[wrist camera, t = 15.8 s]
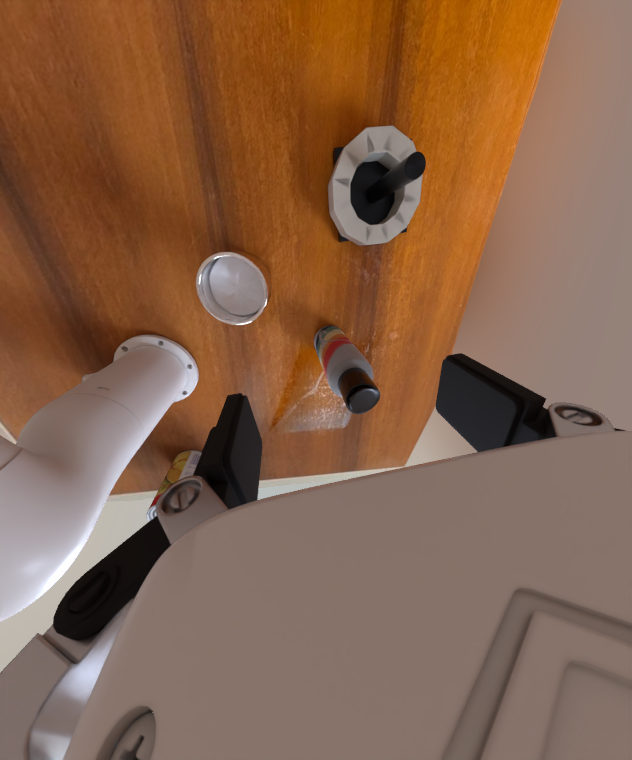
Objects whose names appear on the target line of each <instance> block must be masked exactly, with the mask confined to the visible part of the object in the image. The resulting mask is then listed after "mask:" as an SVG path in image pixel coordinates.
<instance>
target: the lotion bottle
mask: <svg viewBox="0 0 632 760" xmlns="http://www.w3.org/2000/svg"><path fill="white" fill-rule="evenodd" d="M314 345H315V349H316V352H317V354H318V357H319V360H320V362H321V365H322V368H323V370H324V373H325V375H326V378H327V381H328V383H329V386H330V388H331V390H332V391H333V392H334V393H335V394H336V395H338V396H340V397H343V400H344V402H345V404H346V406H347V408H348V409H349V410H350V411H351V412H352V413H355V414H361V413H365V412H367V411H369V410H370V409H372V408H373V407H374V406H375V405H376V404H377V402H378V401H379V399H380V392H379V390H378V388H377V387H376V385H375V384H374V383H373V381H372V380H373V371H372V368H371V366H370V365H369V363H368V362H367V361H366V359H365V358H364V357H363V356H362V354H361V353H360V352H359V351H358V350H357V348H356V347H355V346H354V345H353V344H352V342H351V341H350V340H349V339H348V337H347V336H346V335H345V334H344V333H343V331H342V330H340V329H339V328H338V327H335V326H325V327H323V328H321V329H320V330H319V331H318V332H317V333H316V335H315V338H314Z"/></svg>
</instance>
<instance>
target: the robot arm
mask: <svg viewBox="0 0 632 760" xmlns="http://www.w3.org/2000/svg"><path fill="white" fill-rule="evenodd" d="M191 365H192V366H191ZM198 376H199V374H198V368H197V365H196V362H195V361H194V359H193V357H192V356H191V355H190V354H189V352H188V351H187V350H186V349H184V348H183V347H182V346H181V345H179V344H178V343H176V342H174V341H173V340H170V339H168V338H166V337H162V336H158V335H149V334H148V335H139V336H135V337H132V338H130V339H128V340H127V341H125V342H124V343H122V344H121V345H120V346H119V347H118V348H117V350H116V352H115V354H114V360H113V363H111V364H110V365H108V366H107V367H105V368H104V369H102V370H100V371H99V372H97V373H92V374H86V375H84V376H83V378H82V383H80V384H78V385H77V386H75V387H74V388H72V389H71V390H69V391H67V392H66V393H64V394H63V395H61V396H60V397H58V398H56V399H55V400H53V401H51V402H50V403H48V404H47V405H45V406H44V407H42V408H41V409H40V410H39V411H37V412H36V413H35V414H34V415H33V416H32V417H31V418H30V419H29V421H28V422H27V424H26V425H25V426H24V428H23V430H22V431H21V433H20V436H19V438H18V440H17V443H16V445H15V444H13V443H12V442H10V441H8V440H7V439H5V438H3V437H2V436H0V622H1V621H3V620H5V619H7V618H9V617H11V616H13V615H14V614H16V613H18V612H19V611H21V610H23V609H24V608H26V607H27V606H29V605H30V604H31V603H33V602H34V601H35V600H37V599H38V598H39V597H40V596H41V595H43V594H44V593H45V592H46V591H47V590H48V589H49V588H50V587H51V586H53V585H54V584H55V582H56V581H57V580H58V579H59V578H60V577H61V576H62V575H63V574H64V573H65V572H66V570H67V569H68V568H69V567H70V565H71V564H72V563H73V561H74V560H75V559H76V557H77V555H78V554H79V553H80V551H81V549H82V548H83V546H84V545H85V543H86V541H87V540H88V538H89V536H90V534H91V532H92V530H93V528H94V526H95V524H96V522H97V520H98V517H99V515H100V513H101V511H102V508H103V506H104V504H105V502H106V500H107V498H108V496H109V494H110V492H111V490H112V488H113V486H114V485H115V483H116V481H117V480H118V478H119V476H120V475H121V473H122V472H123V470H124V469H125V467H126V466H127V464H128V463H129V462H130V460H131V459H132V457H133V456H134V455H135V453H136V452H137V450H138V449H139V448H140V447H141V445H142V444H143V442H144V441H145V440H146V438H147V437H148V436H149V434H150V433H151V431H152V430H153V429H154V427H155V426H156V425H157V423H158V422H159V421H160V419H161V418H162V416H163V415H164V414H165V412H166V411H167V410H168V408H169V407H170V406H171V404H172V403H173V402H176V401H180V400H182V399H184V398H186V397H187V396H188V395H190V394H191V392H192V391H193V390H194V388H195V387H196V385H197V382H198ZM545 400H546V398H544V397H542V396H540V395H538V394H536V393H534V392H533V391H531V390H529V389H527V388H525V387H523V386H521V385H519V384H518V383H516V382H514V381H512V380H510V379H508V378H506V377H505V376H503V375H501V374H499V373H497V372H495V371H494V370H492V369H490V368H488V367H486V366H484V365H482V364H481V363H479V362H477V361H475V360H473V359H471V358H469V357H468V356H465V355H464V354H461V353H460V354H454V355H449V356H447V357H446V359H444V360H443V363H442V369H441V375H440V382H439V388H438V394H437V400H436V409H437V411H438V413H439V414H440V415H441V416H442V417H443V418H445V420H446V421H447V422H448V423H449V424H450V425H451V426H452V427H454V429H455V430H457V432H458V433H459V434H461V436H463V437H464V438H465V439H466V441H468V442H469V443H470V445H472V446H473V447H474V448H475V449H476V450H477V451H478V452H477V453H472V454H467V455H462V456H458V457H453V458H448V459H443V460H438V461H433V462H428V463H424V464H419V465H414V466H409V467H404V468H400V469H395V470H390V471H385V472H381V473H376V474H371V475H366V476H362V477H357V478H352V479H348V480H343V481H338V482H334V483H329V484H325V485H320V486H315V487H311V488H307V489H302V490H298V491H294V492H289V493H285V494H280V495H276V496H272V497H268V498H264V499H261V500H257V496H258V486H259V476H260V465H261V454H262V440H261V437H260V434H259V431H258V428H257V425H256V422H255V419H254V416H253V413H252V410H251V407H250V404H249V401H248V398H247V396H246V395H245V396H243V395H242V394H241V393H239V394H233V395H228V396H227V399H226V401H225V404H224V407H223V409H222V412H221V415H220V417H219V420H218V423H217V425H216V427H213V428H212V429H211V431H210V433H209V436H208V438H207V441H206V443H205V446H204V448H203V451H202V453H201V456H200V458H199V461H198V463H197V466H196V468H195V471H194V473H193V476H187V477H185V478H182V479H180V480H178V481H176V482H175V483H173V484H172V485H171V486H169V487H168V488H167V489H166V490H165V491H164V492H163V493H162V494H161V496H160V498H159V499H158V501H157V504H156V508H155V510H156V515H157V516H156V517H154V518H153V519H152V520H151V521H149V522H148V523H147V524H146V525H145V526H143V527H142V528H141V529H140V530H139V531H137V532H136V533H135V534H133V535H132V536H131V537H130V538H128V539H127V540H126V541H125V542H123V543H122V544H121V545H120V546H118V547H117V548H116V549H115V550H113V551H112V552H111V553H110V554H109V555H107V556H106V557H105V558H104V559H102V560H101V561H100V562H99V563H97V564H96V565H95V566H94V567H92V569H90V570H89V571H87V572H86V573H85V574H84V575H83V576H82V577H81V578H80V579H79V580H77V581H76V582H75V584H74V585H73V586H72V587H71V588H70V589H69V591H68V592H67V593H66V594H65V596H64V598H63V599H62V601H61V602H60V604H59V605H58V608H57V610H56V613H55V615H54V622H53V625H52V626H51V627H50V628H49V629H48V630H47V631H46V632H45V634H44V635H41V634H38V633H37V634H36V635H35V637H34V638H33V639H32V640H31V641H30V642H29V643H28V644H27V645H26V646H25V647H24V648H23V649H22V650H21V651H20V653H19V654H18V655H17V656H16V657H15V658H14V659H13V660H12V661H11V662H10V663H9V664H8V665H7V666H6V667H5V668H4V669H3V671H2V672H1V673H0V760H632V431H625V430H620V429H616V428H613V426H612V425H611V423H610V421H609V420H608V419H607V418H606V417H605V416H603V415H602V414H601V413H599V412H597V411H595V410H593V409H591V408H588V407H585V406H582V405H577V404H572V403H554V404H551V405H550V406H549V407H548V409H545V408H544V407H543V405H544V403H545ZM152 712H153V713H152Z"/></svg>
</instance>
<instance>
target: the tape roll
mask: <svg viewBox="0 0 632 760" xmlns="http://www.w3.org/2000/svg"><path fill="white" fill-rule="evenodd" d="M414 152H416V149H415V146H414V143H413V141H411V140H410V139H409V138H408V137H406V136H405V135H404V134H403V133H401V132H400V131H399V130H398V129H396V128H395V127H394V126H380V127H367V128H365V129H364V130H363V131H362V132H361V133H360V134H359V135H357V136H356V137H355V138H354V139H353V140H352V141H351V142H350V143H349V144H347V145H346V146H345V147H344V149H343V150H342V152H341V154H340V155H339V157H338V159H337V162H336V165H335V167H334V170H333V173H332V176H331V178H330V181H329V184H328V196H329V214H330V216H331V218H332V219H333V221H334V223H335V225H336V227H337V229H338V231H339V232H340V234H341V236H343V237H345V238H347V239H348V240H350V241H352V242H354V243H355V244H357V245H359V246H361V245H370V244H379V243H387V242H388V241H390V240H391V239H392V238H394V237H395V236H396V235H397V234H399V233H400V232H401V231H402V230H404V229H405V228H406V227H407V225H408V223H409V222H410V220H411V218H412V216H413V214H414V212H415V210H416V208H417V206H418V204H419V202H420V194H421V184H422V175H421V176H420V177H419V178H418V179H416V180H414V181H413V182H411V183H409V184H407V185H406V186H404V187H402V188H400V189H398V190H397V191H395V198H394V204H393V206H392V208H391V210H390V212H389V214H388V216H387V218H385V219H384V220H383V221H382V222H380V223H379V224H376V225H369V224H367V223H366V222H364V221H362V220H361V219H359V218H358V217H357V215H356V213H355V211H354V209H353V207H352V205H351V200H350V183H351V180H352V178H353V175H354V173H355V171H356V168H357V167H358V166H360V165H361V164H362V163H363V162H371V161H378V162H380V163H381V164H382V165H384V166H385V167H386V168H388V169H389V170H391V169H393V168H394V167H395V166H396V165H398V164H399V163H400V162H402V161H403V160H404V159H406V158H407V157H408V156H409V155H411V154H412V153H414Z"/></svg>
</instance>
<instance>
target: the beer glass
mask: <svg viewBox="0 0 632 760" xmlns="http://www.w3.org/2000/svg"><path fill="white" fill-rule="evenodd" d="M196 289H197V294H198V297H199V299H200V301H201V303H202V305H203V306H204V308H205V309H206V310H207V311H208V312H209V313H210V314H211V315H212V316H213V317H215V318H216V319H218V320H220V321H222V322H224V323H227V324H232V325H243V324H247V323H250V322H252V321H254V320H255V319H256V318H258V317H259V316H260V315H261V313H262V312H263V310H264V309H265V308H266V306H267V304H268V302H269V300H270V297H271V275H270V272H269V269H268V267H267V266H266V264H265V263H264V262H263V261H262V260H260V259H259V258H257V257H255V256H253V255H251V254H249V253H246V252H243V251H239V250H228V251H223V252H220V253H216V254H214V255H212V256H210V257H208V258H207V259H206V260H205V261H204V262H203V263H202V265H201V266H200V268H199V270H198V273H197V277H196Z"/></svg>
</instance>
